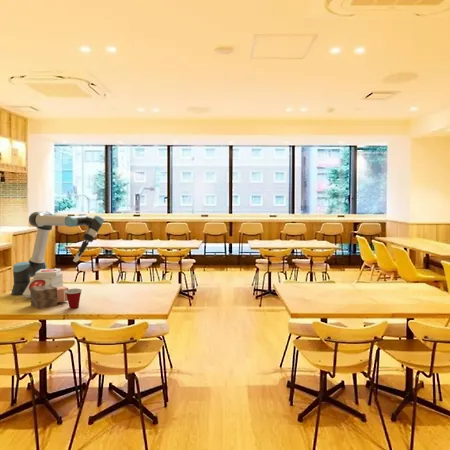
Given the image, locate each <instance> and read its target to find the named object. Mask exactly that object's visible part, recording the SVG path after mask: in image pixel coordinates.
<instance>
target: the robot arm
mask: <svg viewBox="0 0 450 450" xmlns="http://www.w3.org/2000/svg"><path fill="white" fill-rule="evenodd" d="M104 221H105V220H104V218H103V217H102V216H100V215H94V216H90V215H87V214H84V213H79V215H56V214H55V213H54V212H53V211H50V210H49V211H48V210H45V211H35V212H32V213H31V214H30V215H29V217H28V223H29V224H30V225H31V226H32V227H35V228H36V229H37V231H36V235H35V241H34V243H33V251H32V255H31V257H30V258H29V260H28V261H20V262H17V263H14V264H13V266H12V275H13V285H12V289H11V295H13V296H14V295H16V296H18V295H19V296H21V295H22V296H23V293H24V291H25V290H26V288H27V286H28V284H29V283H30V281H31V278H33V276H35V273H36V272H37V271H39V270H40V269H48V267H47V263H46V260H45V259H44V258H45V252H46V248H47V243H48V239H49V233H50V232H51V230H52V229H53V227H54V226H55V227H57V226H58V227H69V228H74V227H82V226H86V227H87V228H86V231H85V233H84V235H83V236H82V238H83V241H82V243H81V245H80V248H79V249H78V250H77V253H76V255H75V256H74V257H73V260H72V261H73V262H75V263H77V262H79V260H80V259H81V257H82V255H83V253H84V252H85V250H86V248H87V246H89V243H93V242H94V240H95V237H96V236H97V235H98V232H99V231H100V229H101V227H102V226H103V223H104Z"/></svg>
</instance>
